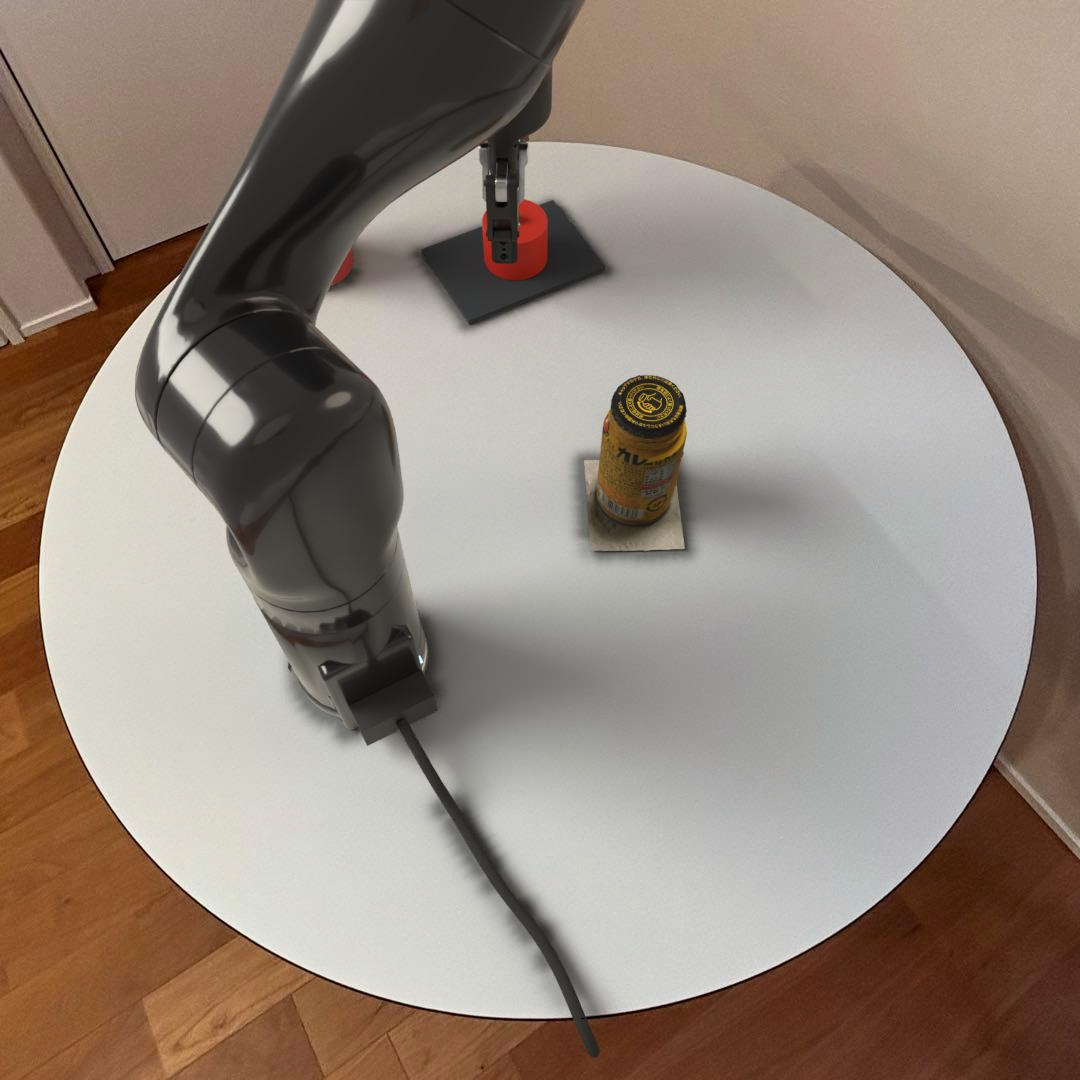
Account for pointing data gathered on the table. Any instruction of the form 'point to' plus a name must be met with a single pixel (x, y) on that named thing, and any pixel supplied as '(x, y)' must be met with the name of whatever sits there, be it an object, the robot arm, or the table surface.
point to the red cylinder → (522, 244)
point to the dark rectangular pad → (491, 294)
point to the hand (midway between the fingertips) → (506, 226)
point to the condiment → (638, 469)
